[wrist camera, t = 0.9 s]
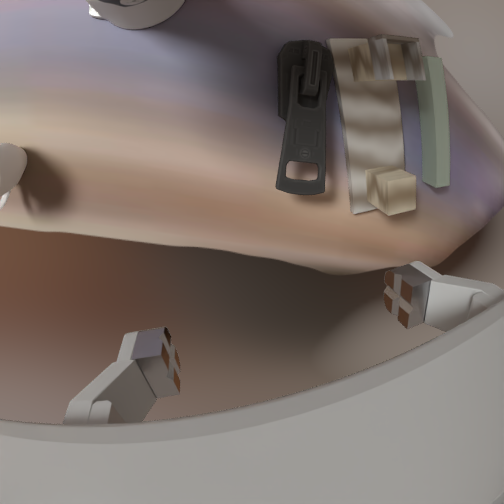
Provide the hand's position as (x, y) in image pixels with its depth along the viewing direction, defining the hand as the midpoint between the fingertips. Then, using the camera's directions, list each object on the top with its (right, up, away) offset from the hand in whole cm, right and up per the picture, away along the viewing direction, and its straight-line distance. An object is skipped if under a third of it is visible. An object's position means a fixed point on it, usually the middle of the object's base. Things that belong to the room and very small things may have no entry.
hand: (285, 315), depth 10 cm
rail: (+34, +29, +36) cm, 57 cm away
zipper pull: (+6, +25, +34) cm, 43 cm away
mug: (-44, +18, +29) cm, 56 cm away
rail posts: (+20, +25, +36) cm, 48 cm away
